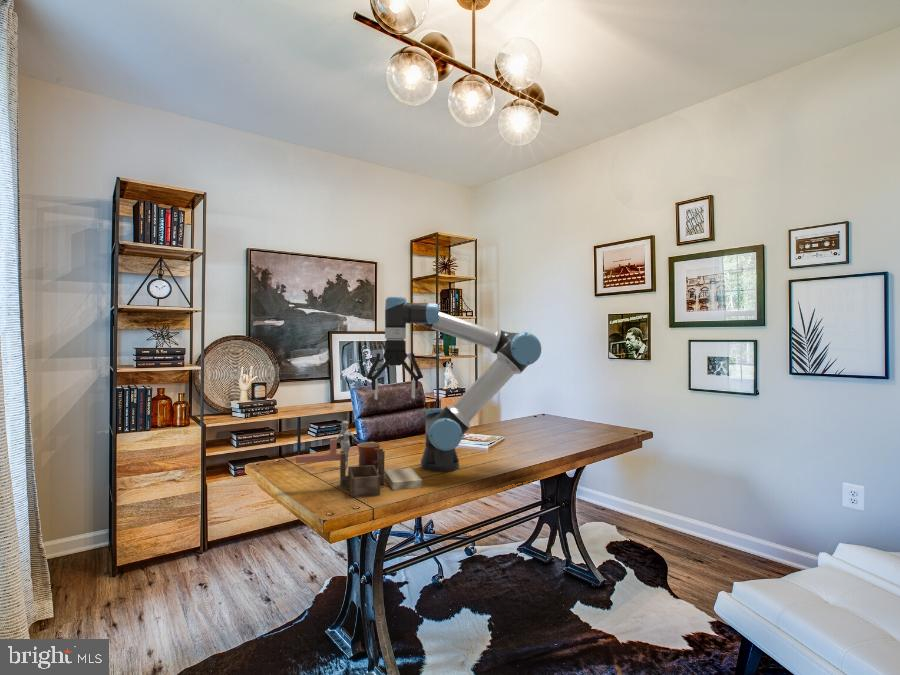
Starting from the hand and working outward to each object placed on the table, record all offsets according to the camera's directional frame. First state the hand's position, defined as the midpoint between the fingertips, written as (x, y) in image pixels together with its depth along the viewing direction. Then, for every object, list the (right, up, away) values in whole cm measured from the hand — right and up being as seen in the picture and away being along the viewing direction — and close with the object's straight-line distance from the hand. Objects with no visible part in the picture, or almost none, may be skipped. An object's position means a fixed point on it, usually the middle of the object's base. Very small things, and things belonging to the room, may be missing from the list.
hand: (394, 398), depth 169 cm
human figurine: (-21, -29, +14) cm, 38 cm away
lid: (+3, -29, -5) cm, 30 cm away
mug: (-10, -29, +7) cm, 31 cm away
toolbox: (-9, -29, -13) cm, 33 cm away
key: (-23, -19, -13) cm, 33 cm away
